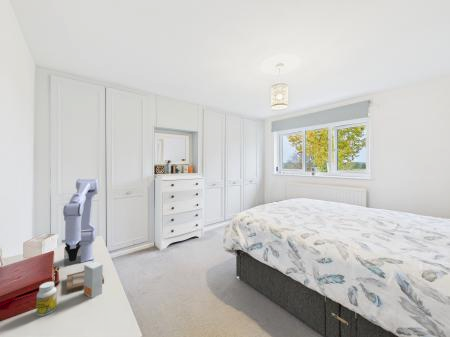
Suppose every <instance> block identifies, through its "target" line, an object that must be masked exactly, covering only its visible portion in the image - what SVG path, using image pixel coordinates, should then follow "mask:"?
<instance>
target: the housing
mask: <svg viewBox="0 0 450 337" xmlns="http://www.w3.org/2000/svg"><path fill="white" fill-rule="evenodd" d="M63 250H64V251H63V252H64V253H63V254H64V255H63V267H65V268H66V267H70V266H74V265H78V264H81V263H82V262H81V247H80V248H79V250H78V253H77V257H76V261H72V262H70V261H69V257H68V253H67V251H66V250H65V247H64V249H63Z"/></svg>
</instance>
